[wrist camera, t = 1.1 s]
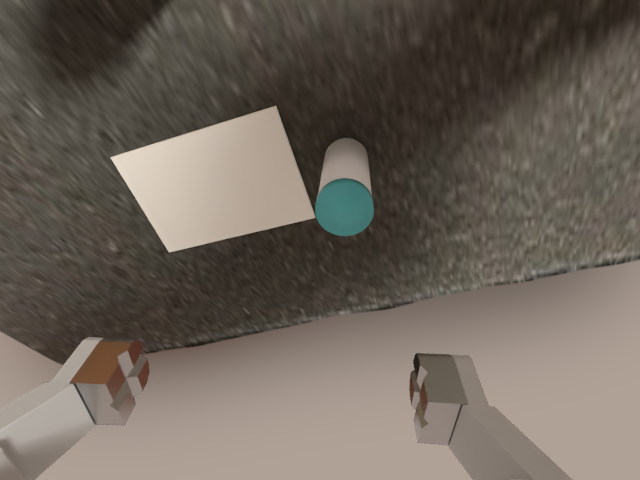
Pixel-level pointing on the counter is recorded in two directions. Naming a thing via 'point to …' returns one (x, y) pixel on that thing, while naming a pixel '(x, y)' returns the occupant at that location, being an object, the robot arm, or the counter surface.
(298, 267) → the counter surface
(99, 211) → the counter surface
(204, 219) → the paper
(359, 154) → the marker
